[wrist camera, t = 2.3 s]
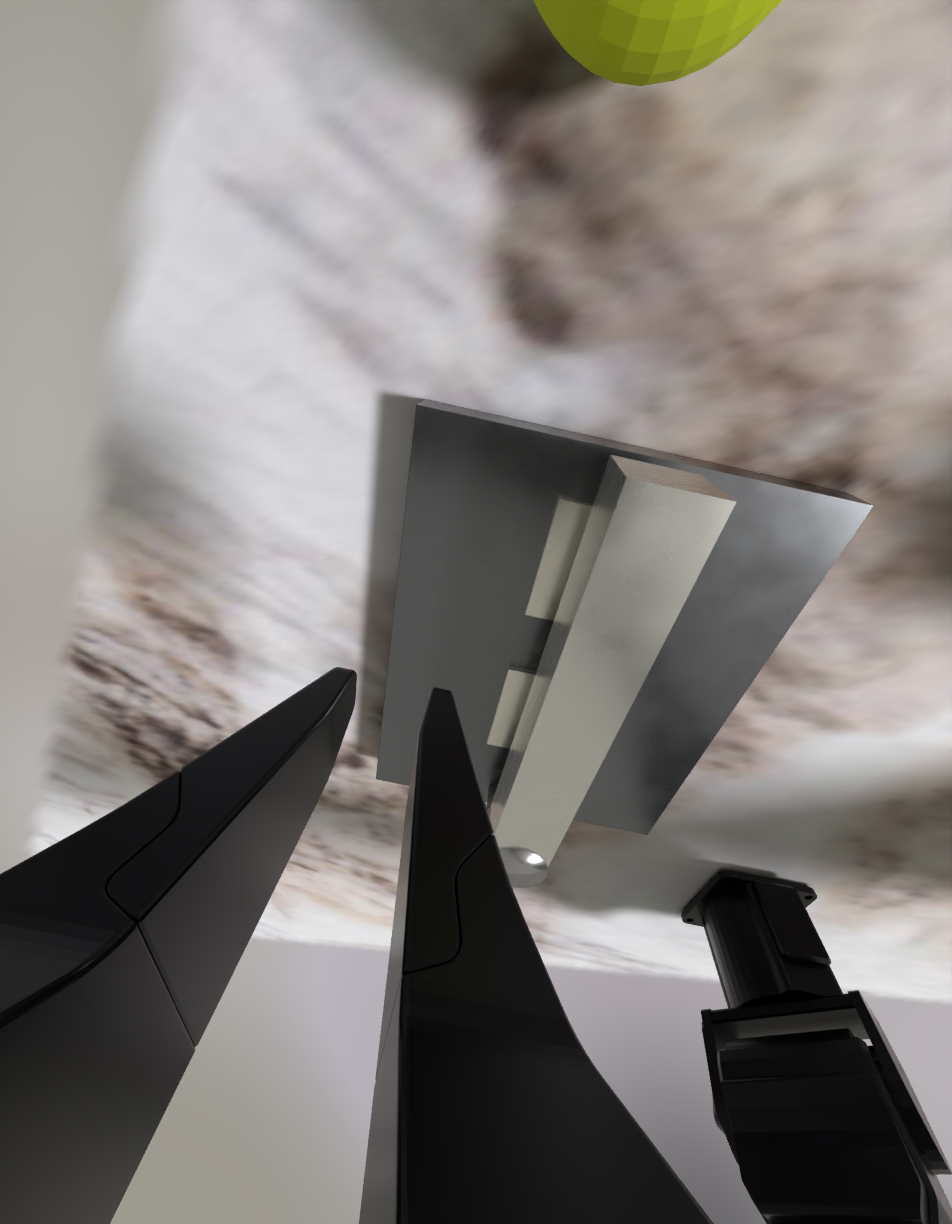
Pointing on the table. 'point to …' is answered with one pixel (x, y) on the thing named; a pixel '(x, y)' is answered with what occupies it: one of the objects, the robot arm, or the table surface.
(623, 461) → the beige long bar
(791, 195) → the table surface
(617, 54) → the tennis ball
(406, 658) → the panel
